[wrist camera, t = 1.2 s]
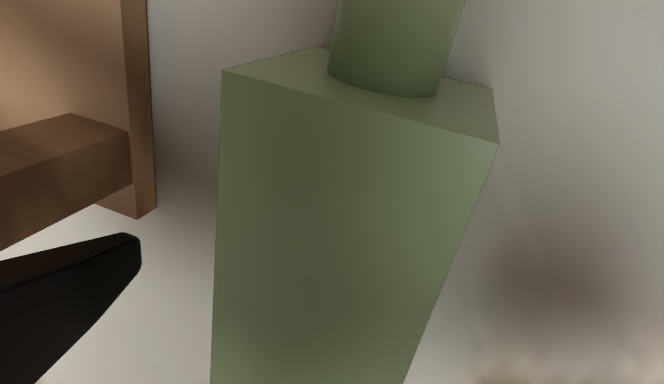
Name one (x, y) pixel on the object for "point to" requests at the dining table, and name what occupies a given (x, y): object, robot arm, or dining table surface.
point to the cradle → (73, 112)
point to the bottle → (344, 197)
